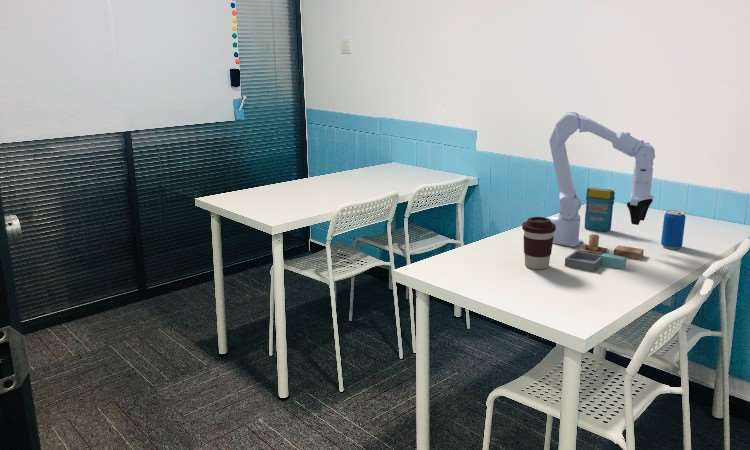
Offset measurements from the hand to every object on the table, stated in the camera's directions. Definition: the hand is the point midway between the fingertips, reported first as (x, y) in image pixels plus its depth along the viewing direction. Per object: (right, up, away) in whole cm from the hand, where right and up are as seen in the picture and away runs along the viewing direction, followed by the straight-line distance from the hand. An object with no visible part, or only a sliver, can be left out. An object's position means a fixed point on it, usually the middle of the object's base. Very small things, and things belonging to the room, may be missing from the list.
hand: (637, 222), depth 214 cm
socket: (-16, -11, -4) cm, 20 cm away
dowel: (-16, -11, -4) cm, 20 cm away
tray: (-21, -13, -11) cm, 27 cm away
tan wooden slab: (-4, -11, -3) cm, 12 cm away
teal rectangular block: (-13, -13, -12) cm, 22 cm away
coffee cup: (-36, -14, -11) cm, 40 cm away
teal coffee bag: (-5, -3, +25) cm, 26 cm away
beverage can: (+13, -8, +5) cm, 16 cm away
